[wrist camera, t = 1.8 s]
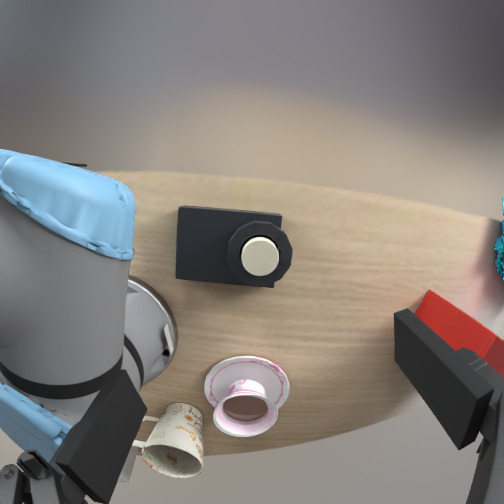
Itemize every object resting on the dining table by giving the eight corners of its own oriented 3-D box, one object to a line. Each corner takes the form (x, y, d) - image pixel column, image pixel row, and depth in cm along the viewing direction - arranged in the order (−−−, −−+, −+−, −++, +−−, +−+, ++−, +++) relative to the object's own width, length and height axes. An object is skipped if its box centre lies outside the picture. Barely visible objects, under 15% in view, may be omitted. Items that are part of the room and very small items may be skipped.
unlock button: (243, 235, 29) (243, 238, 28) (279, 238, 30) (280, 241, 28) (240, 269, 30) (239, 274, 29) (275, 272, 30) (276, 277, 29)
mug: (212, 434, 40) (206, 480, 30) (140, 426, 40) (123, 468, 30) (207, 398, 38) (198, 448, 29) (128, 391, 38) (105, 433, 29)
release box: (183, 205, 32) (174, 208, 28) (291, 215, 33) (296, 218, 29) (179, 273, 34) (171, 283, 30) (282, 282, 34) (286, 294, 30)
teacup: (245, 338, 36) (244, 365, 30) (306, 386, 38) (313, 415, 32) (187, 386, 38) (178, 415, 32) (247, 427, 40) (247, 456, 34)
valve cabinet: (447, 359, 38) (496, 410, 23) (399, 337, 36) (453, 399, 22) (473, 318, 36) (530, 360, 21) (429, 289, 35) (497, 336, 20)
